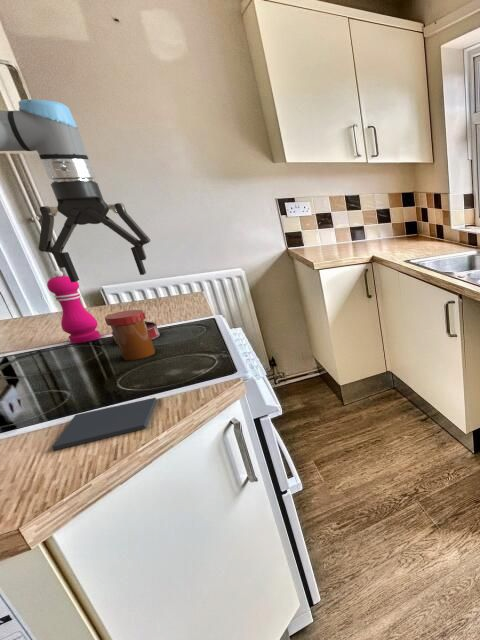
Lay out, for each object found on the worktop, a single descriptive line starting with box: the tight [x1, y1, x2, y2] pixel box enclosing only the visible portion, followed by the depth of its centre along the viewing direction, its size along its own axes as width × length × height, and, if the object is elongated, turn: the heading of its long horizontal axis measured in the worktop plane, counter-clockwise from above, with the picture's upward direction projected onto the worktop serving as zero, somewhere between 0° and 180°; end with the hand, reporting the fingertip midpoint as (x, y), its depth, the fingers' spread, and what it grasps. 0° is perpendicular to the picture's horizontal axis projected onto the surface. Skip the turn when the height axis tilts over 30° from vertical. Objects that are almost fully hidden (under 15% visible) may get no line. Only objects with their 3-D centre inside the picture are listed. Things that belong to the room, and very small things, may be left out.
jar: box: [110, 319, 156, 361], centre depth 106 cm, size 6×6×11 cm
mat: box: [51, 397, 158, 451], centre depth 77 cm, size 12×12×1 cm
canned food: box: [108, 313, 161, 345], centre depth 119 cm, size 11×10×10 cm
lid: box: [104, 309, 147, 327], centre depth 104 cm, size 7×7×2 cm
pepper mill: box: [46, 270, 102, 344], centre depth 117 cm, size 7×7×20 cm
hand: (110, 277), depth 101 cm, fingers open, 12 cm apart
